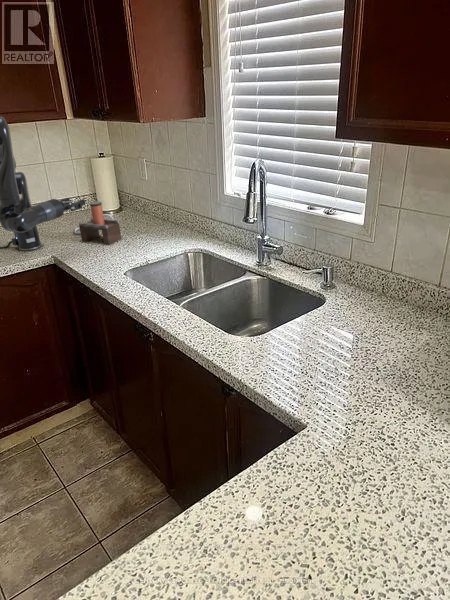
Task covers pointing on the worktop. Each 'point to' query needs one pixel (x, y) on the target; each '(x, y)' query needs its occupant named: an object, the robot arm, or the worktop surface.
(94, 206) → the spice jar
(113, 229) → the rail rack
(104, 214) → the hook
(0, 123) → the robot arm
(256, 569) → the worktop surface
